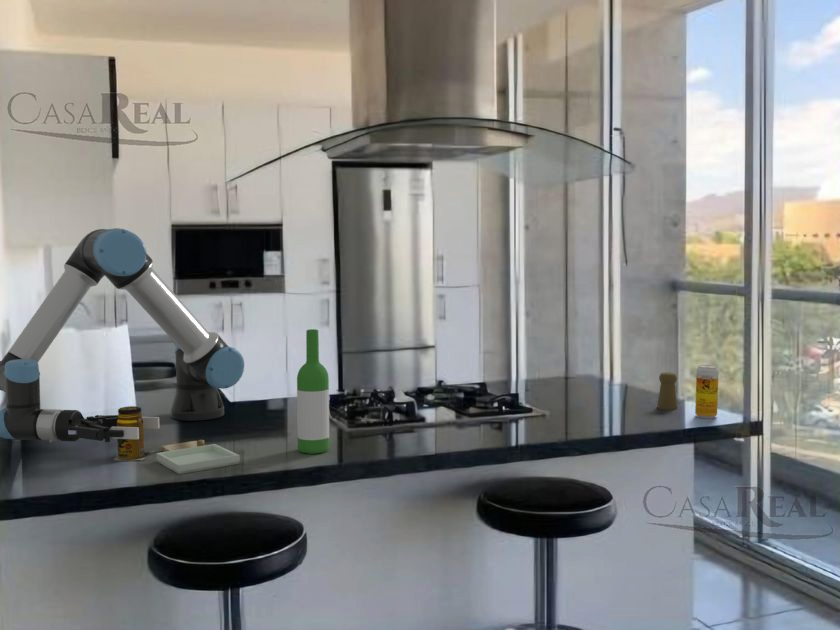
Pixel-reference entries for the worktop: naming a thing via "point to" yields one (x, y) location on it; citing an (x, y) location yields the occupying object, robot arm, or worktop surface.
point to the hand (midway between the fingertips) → (148, 428)
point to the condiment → (131, 447)
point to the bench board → (182, 445)
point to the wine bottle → (312, 400)
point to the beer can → (706, 391)
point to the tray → (197, 458)
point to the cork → (667, 391)
